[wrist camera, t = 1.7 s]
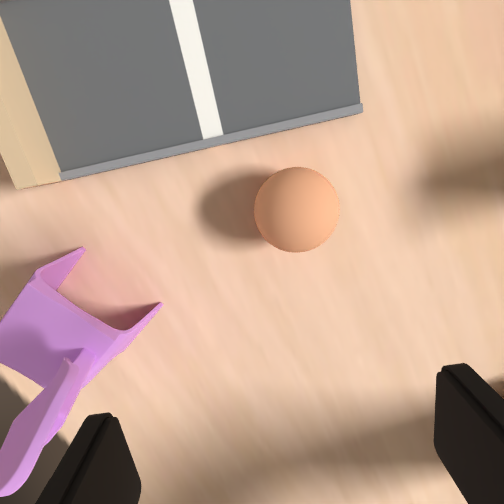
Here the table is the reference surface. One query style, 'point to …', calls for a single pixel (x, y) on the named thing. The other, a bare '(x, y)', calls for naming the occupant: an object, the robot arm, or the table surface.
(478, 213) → the table surface
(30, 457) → the toy chair
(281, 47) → the lane
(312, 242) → the ball
